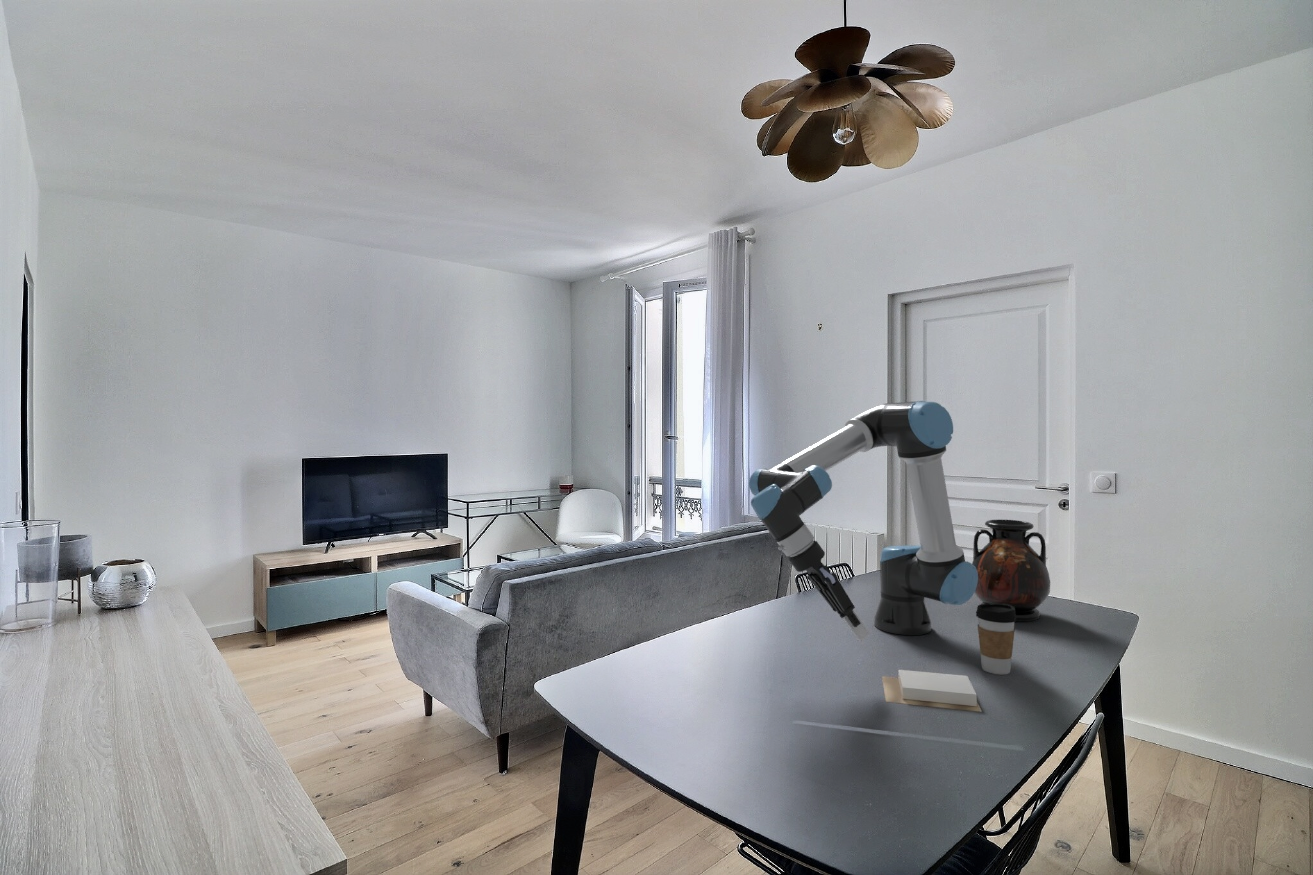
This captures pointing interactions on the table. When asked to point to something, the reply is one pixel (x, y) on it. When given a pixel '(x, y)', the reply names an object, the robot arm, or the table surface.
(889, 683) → the mat
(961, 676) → the tile
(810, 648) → the table surface
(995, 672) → the coffee cup
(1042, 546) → the amphora vase
